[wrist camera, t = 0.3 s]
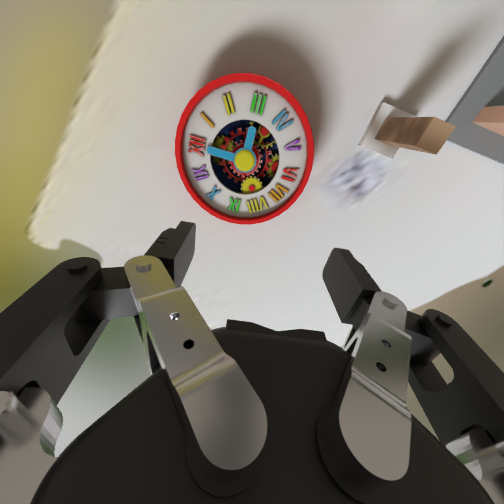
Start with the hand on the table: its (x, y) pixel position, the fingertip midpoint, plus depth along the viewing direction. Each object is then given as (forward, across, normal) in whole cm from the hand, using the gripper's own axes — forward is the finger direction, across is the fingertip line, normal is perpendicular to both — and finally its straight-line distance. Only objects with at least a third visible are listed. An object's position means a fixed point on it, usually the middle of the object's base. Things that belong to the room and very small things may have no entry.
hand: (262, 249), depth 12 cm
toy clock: (+29, +2, 0) cm, 29 cm away
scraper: (+28, -19, -8) cm, 35 cm away
